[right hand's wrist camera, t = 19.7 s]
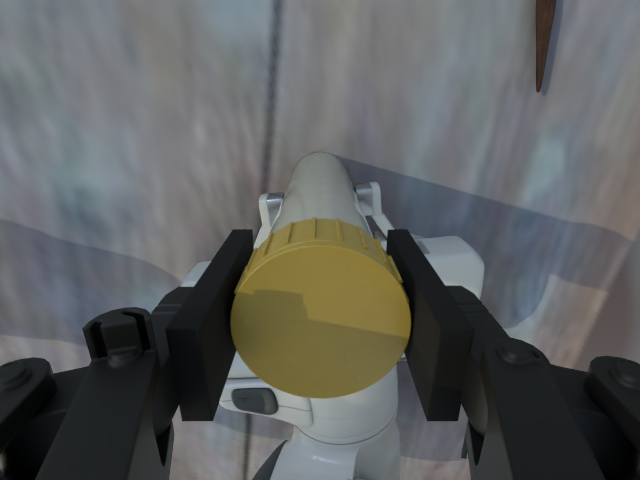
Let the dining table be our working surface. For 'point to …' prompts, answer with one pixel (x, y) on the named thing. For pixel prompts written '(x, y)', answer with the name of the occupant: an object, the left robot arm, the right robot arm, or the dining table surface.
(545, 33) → the fork
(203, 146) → the dining table surface
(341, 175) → the bottle
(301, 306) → the lid
